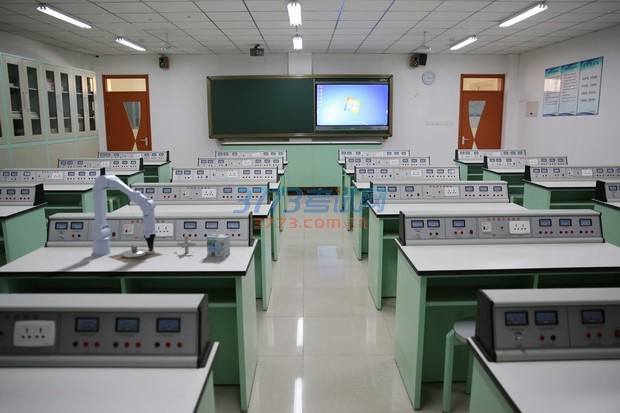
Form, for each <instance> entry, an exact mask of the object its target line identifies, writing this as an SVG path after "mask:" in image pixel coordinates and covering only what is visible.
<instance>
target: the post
mask: <svg viewBox="0 0 620 413" xmlns="http://www.w3.org/2000/svg"><path fill="white" fill-rule="evenodd" d="M130 248H131V249H130V250H131V251H132V253H135V252H137V249H138V246H137V244H136V245H135V244H134V245H131V247H130Z"/></svg>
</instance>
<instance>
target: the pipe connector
mask: <svg viewBox="0 0 620 413" xmlns="http://www.w3.org/2000/svg"><path fill="white" fill-rule="evenodd" d="M183 238H184V241H183V242H182V241H181V242H179V241H178V242H176V245H177V246H179V247H181V248H182V249H184V253H185V254H189V252H190V251H189V247H196V245H197V243H196V242H192V240H189V239H188V238H189V236H188V234H184V237H183Z"/></svg>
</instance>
